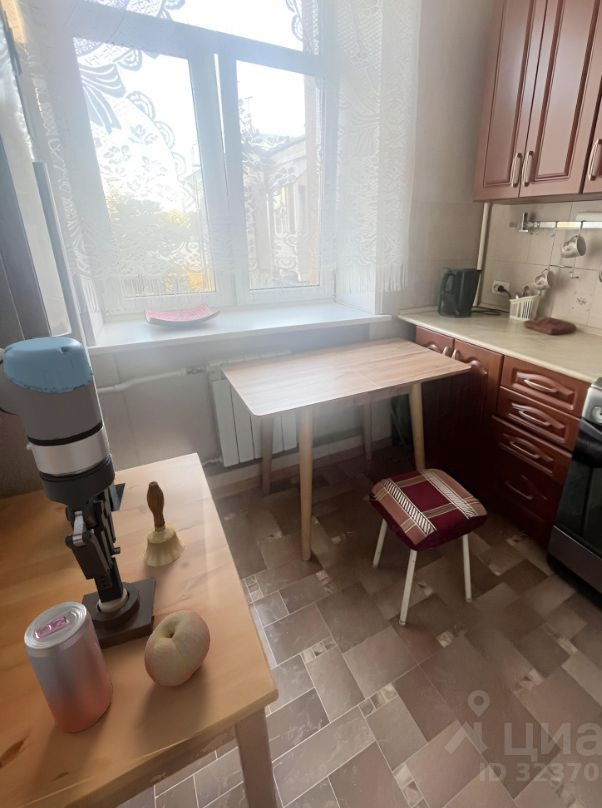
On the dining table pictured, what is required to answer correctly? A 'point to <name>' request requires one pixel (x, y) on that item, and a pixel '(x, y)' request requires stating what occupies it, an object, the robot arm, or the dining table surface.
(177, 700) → the dining table surface
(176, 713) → the dining table surface
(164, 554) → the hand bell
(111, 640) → the button block
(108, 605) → the button
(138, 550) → the dining table surface
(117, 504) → the switch bracket
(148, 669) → the fruit
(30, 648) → the beverage can
